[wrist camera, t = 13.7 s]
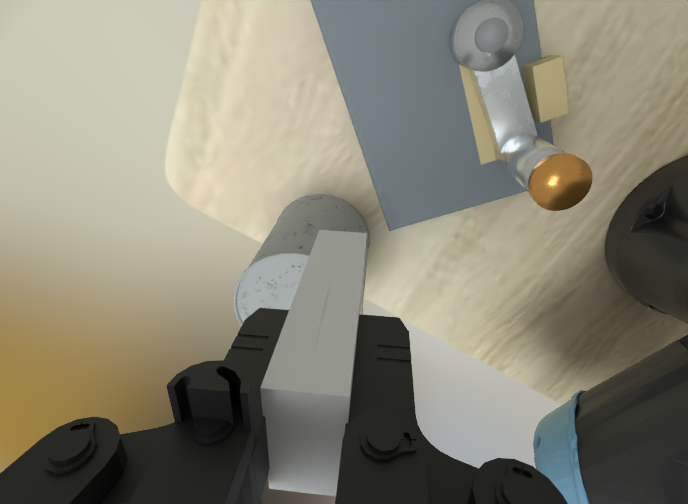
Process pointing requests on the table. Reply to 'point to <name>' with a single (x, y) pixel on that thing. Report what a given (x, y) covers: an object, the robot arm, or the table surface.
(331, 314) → the robot arm
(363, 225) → the grey cylinder
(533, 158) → the bar
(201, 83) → the table surface
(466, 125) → the plate
